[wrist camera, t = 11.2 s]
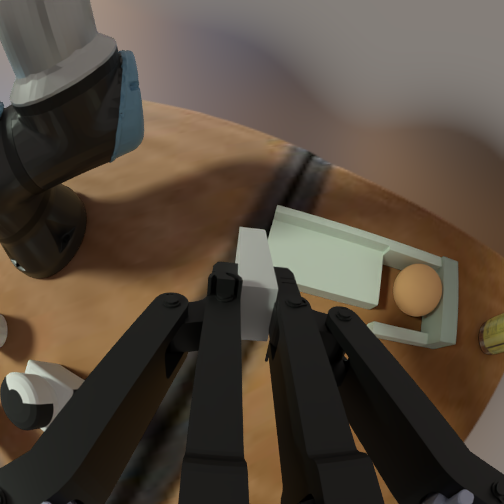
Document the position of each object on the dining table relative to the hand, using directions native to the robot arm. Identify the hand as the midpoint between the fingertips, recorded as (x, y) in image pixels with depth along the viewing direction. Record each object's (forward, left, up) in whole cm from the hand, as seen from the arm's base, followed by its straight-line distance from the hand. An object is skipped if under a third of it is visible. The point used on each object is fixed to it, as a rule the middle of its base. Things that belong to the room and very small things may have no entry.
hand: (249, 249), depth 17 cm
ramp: (+4, +16, -19) cm, 25 cm away
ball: (+8, +22, -15) cm, 28 cm away
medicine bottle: (+3, -26, -19) cm, 32 cm away
